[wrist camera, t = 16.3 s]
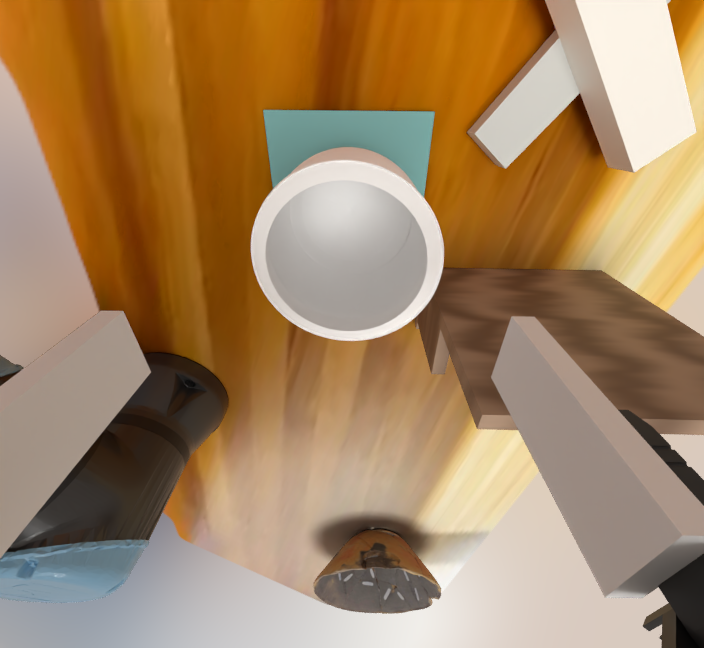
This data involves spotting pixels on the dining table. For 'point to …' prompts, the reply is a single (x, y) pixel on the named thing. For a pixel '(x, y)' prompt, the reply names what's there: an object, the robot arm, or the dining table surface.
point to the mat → (349, 138)
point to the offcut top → (626, 76)
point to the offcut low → (526, 104)
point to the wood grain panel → (567, 341)
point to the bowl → (377, 576)
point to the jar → (347, 246)
